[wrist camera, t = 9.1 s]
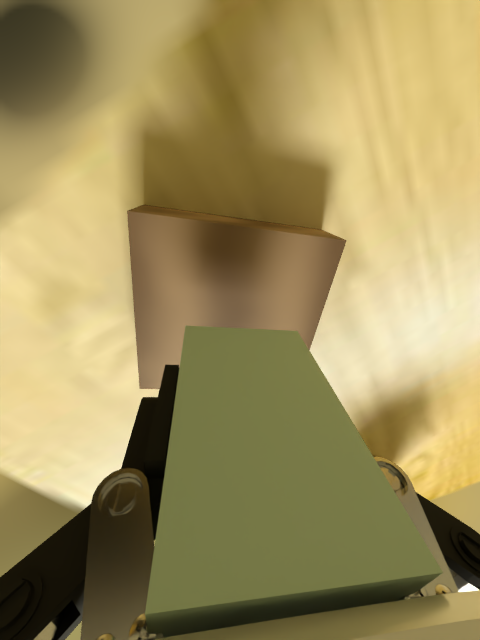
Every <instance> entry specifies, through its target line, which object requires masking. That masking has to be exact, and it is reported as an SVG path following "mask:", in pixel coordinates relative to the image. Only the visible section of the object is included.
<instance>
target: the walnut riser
mask: <svg viewBox="0 0 480 640" xmlns="http://www.w3.org/2000/svg"><path fill="white" fill-rule="evenodd" d="M127 212H128V227H129V241H130V256H131V270H132V284H133V299H134V313H135V328H136V342H137V356H138V371H139V385H140V389H160V386H161V381H162V377H163V372H164V368H165V365H179V368H180V361H181V354H182V346H183V339H184V332H185V326H206V327H226V328H247V329H267V330H288V331H298V333H299V334H300V336H301V338H302V339H303V341H304V343H305V344H306V346H307V348H308V349H309V350H310V347H311V344H312V341H313V338H314V335H315V332H316V329H317V326H318V323H319V320H320V317H321V314H322V311H323V308H324V305H325V302H326V299H327V296H328V293H329V290H330V287H331V285H332V282H333V279H334V276H335V273H336V270H337V267H338V264H339V261H340V258H341V255H342V252H343V249H344V246H345V243H346V240H344V239H342V238H340V237H337V236H335V235H333V234H330V233H328V232H325V231H323V230H319V229H312V228H305V227H298V226H290V225H283V224H276V223H269V222H262V221H255V220H248V219H241V218H234V217H226V216H219V215H212V214H205V213H198V212H191V211H184V210H177V209H169V208H162V207H155V206H148V205H142V206H139V207H137V208H134V209H131V210H129V211H127Z"/></svg>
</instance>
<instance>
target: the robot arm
mask: <svg viewBox="0 0 480 640" xmlns="http://www.w3.org/2000/svg"><path fill="white" fill-rule="evenodd" d="M178 375H179V365H165V368H164V372H163V377H162V381H161V386H160V390H159V395H158V397H143V398H142V400H141V403H140V406H139V409H138V413H137V416H136V420H135V423H134V427H133V430H132V433H131V437H130V440H129V444H128V447H127V450H126V454H125V457H124V461H123V464H122V468H121V469H120V470H117V471H115V472H113V473H111V474H110V475H108V476H107V477H106V478H104V480H103V481H102V482H101V483H100V484H99V485H98V487H97V489H96V490H95V492H94V494H93V498H92V502H91V504H90V505H89V506H88V507H86V508H85V509H84V510H83V511H81V512H80V513H79V514H78V515H77V516H75V517H74V518H73V519H72V520H70V521H69V522H68V523H67V524H66V525H64V526H63V527H62V528H60V530H58V531H57V532H56V533H54V534H53V535H52V536H51V537H50V538H48V539H47V540H46V541H44V542H43V543H42V544H41V545H40V546H38V547H37V548H36V549H35V550H33V551H32V552H31V553H30V554H28V555H27V556H26V557H25V558H24V559H22V560H21V561H20V562H19V563H17V564H16V565H15V566H14V567H12V568H11V569H10V570H9V571H8V572H7V573H5V574H4V575H3V576H2V577H0V640H65V639H66V638H67V637H68V636H69V635H70V633H71V632H72V631H73V630H74V629H75V628H76V627H77V626H78V624H79V623H80V622H81V621H82V628H81V640H480V534H478V533H477V532H476V531H475V530H473V529H472V528H471V527H469V526H467V525H466V524H464V523H462V522H461V521H460V520H458V519H456V518H455V517H454V516H452V515H450V514H449V513H447V512H446V511H444V510H443V509H441V508H439V507H438V506H436V505H435V504H433V503H432V502H430V501H429V500H427V499H426V498H424V497H423V496H421V495H419V494H418V493H416V492H415V490H414V487H413V485H412V483H411V481H410V479H409V478H408V476H407V475H406V473H405V472H404V471H403V470H402V469H401V468H400V467H399V466H398V465H396V464H395V463H393V462H392V461H390V460H388V459H385V458H383V457H374V459H375V460H376V462H377V464H378V465H379V467H380V469H381V470H382V472H383V474H384V475H385V477H386V479H387V480H388V482H389V484H390V485H391V487H392V489H393V490H394V492H395V494H396V495H397V497H398V498H399V500H400V502H401V503H402V505H403V507H404V508H405V510H406V512H407V513H408V515H409V517H410V518H411V520H412V522H413V523H414V525H415V527H416V528H417V530H418V532H419V533H420V535H421V537H422V538H423V540H424V542H425V543H426V545H427V547H428V548H429V550H430V552H431V553H432V555H433V556H434V558H435V560H436V561H437V563H438V565H439V566H440V568H441V570H442V571H443V573H442V574H441V575H439V576H438V577H437V578H435V579H434V580H432V581H431V582H430V583H428V584H427V585H425V586H424V587H423V588H421V589H420V590H419V591H417V592H416V593H414V594H410V595H405V596H403V597H401V598H400V599H399V600H397V601H393V602H386V603H379V604H373V605H366V606H359V607H353V608H347V609H340V610H334V611H327V612H321V613H315V614H308V615H302V616H295V617H289V618H283V619H276V620H270V621H264V622H257V623H251V624H245V625H239V626H233V627H226V628H220V629H214V630H208V631H202V632H196V633H189V634H183V635H177V636H171V637H166V638H163V633H156V634H149V633H148V627H147V622H146V617H145V611H146V603H147V596H148V589H149V582H150V575H151V568H152V561H153V553H154V540H155V539H156V532H157V525H158V518H159V511H160V504H161V496H162V489H163V482H164V475H165V468H166V461H167V454H168V446H169V439H170V432H171V425H172V418H173V411H174V404H175V396H176V389H177V382H178Z"/></svg>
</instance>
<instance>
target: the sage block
mask: <svg viewBox="0 0 480 640" xmlns="http://www.w3.org/2000/svg"><path fill="white" fill-rule="evenodd" d="M442 573H443V571H442V570H441V568H440V566H439V565H438V563H437V561H436V560H435V558H434V556H433V555H432V553H431V552H430V550H429V548H428V547H427V545H426V543H425V542H424V540H423V538H422V537H421V535H420V533H419V532H418V530H417V528H416V527H415V525H414V523H413V522H412V520H411V518H410V517H409V515H408V513H407V512H406V510H405V508H404V507H403V505H402V503H401V502H400V500H399V498H398V497H397V495H396V494H395V492H394V490H393V489H392V487H391V485H390V484H389V482H388V480H387V479H386V477H385V475H384V474H383V472H382V470H381V469H380V467H379V465H378V464H377V462H376V460H375V459H374V457H373V455H372V454H371V452H370V450H369V449H368V447H367V445H366V444H365V442H364V440H363V439H362V437H361V435H360V434H359V432H358V431H357V429H356V427H355V426H354V424H353V422H352V421H351V419H350V417H349V416H348V414H347V412H346V411H345V409H344V407H343V406H342V404H341V402H340V401H339V399H338V397H337V396H336V394H335V392H334V391H333V389H332V387H331V386H330V384H329V382H328V381H327V379H326V377H325V376H324V374H323V373H322V371H321V369H320V368H319V366H318V364H317V363H316V361H315V359H314V358H313V356H312V354H311V353H310V351H309V349H308V348H307V346H306V344H305V343H304V341H303V339H302V338H301V336H300V334H299V333H298V331H288V330H267V329H247V328H226V327H206V326H185V332H184V339H183V346H182V354H181V361H180V368H179V375H178V382H177V389H176V396H175V404H174V411H173V418H172V425H171V432H170V439H169V446H168V454H167V461H166V468H165V475H164V482H163V489H162V496H161V504H160V511H159V518H158V525H157V532H156V539H155V546H154V553H153V561H152V568H151V575H150V582H149V589H148V596H147V603H146V611H145V617H146V622H147V627H148V633H149V634H156V633H163V638H166V637H171V636H177V635H183V634H189V633H196V632H202V631H208V630H214V629H220V628H226V627H233V626H239V625H245V624H251V623H257V622H264V621H270V620H276V619H283V618H289V617H295V616H302V615H308V614H315V613H321V612H327V611H334V610H340V609H347V608H353V607H359V606H366V605H373V604H379V603H386V602H393V601H397V600H399V599H400V598H401V597H403V596H405V595H410V594H414V593H416V592H417V591H419V590H420V589H421V588H423V587H424V586H425V585H427V584H428V583H430V582H431V581H432V580H434V579H435V578H437V577H438V576H439V575H441V574H442Z"/></svg>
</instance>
